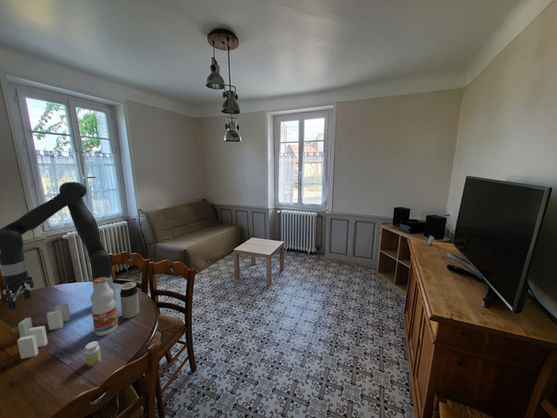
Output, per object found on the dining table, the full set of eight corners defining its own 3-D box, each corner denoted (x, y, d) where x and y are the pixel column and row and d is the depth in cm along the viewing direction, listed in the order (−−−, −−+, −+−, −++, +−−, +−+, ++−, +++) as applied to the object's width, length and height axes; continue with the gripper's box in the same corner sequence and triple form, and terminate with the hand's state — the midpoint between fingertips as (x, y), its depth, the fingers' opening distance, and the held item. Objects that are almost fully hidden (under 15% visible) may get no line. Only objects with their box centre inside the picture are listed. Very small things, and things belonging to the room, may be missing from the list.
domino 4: (51, 327, 111) (49, 312, 110) (63, 325, 113) (60, 310, 111) (49, 330, 109) (46, 314, 108) (61, 328, 111) (58, 312, 109)
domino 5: (59, 320, 117) (56, 305, 115) (70, 318, 118) (67, 303, 117) (57, 322, 115) (54, 307, 113) (68, 320, 116) (65, 305, 115)
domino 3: (34, 345, 100) (31, 327, 98) (47, 342, 101) (44, 325, 100) (31, 348, 98) (28, 330, 97) (45, 345, 100) (41, 328, 98)
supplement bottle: (92, 357, 94) (90, 340, 93) (104, 356, 94) (101, 340, 93) (83, 367, 89) (81, 349, 88) (95, 366, 90) (93, 348, 88)
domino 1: (33, 333, 107) (30, 317, 105) (26, 340, 102) (22, 323, 101) (29, 334, 106) (25, 317, 105) (21, 341, 102) (17, 324, 100)
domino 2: (24, 355, 94) (20, 337, 93) (38, 352, 96) (35, 335, 94) (21, 358, 93) (17, 340, 91) (35, 356, 94) (32, 337, 93)
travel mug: (126, 321, 117) (123, 290, 114) (120, 315, 121) (116, 286, 118) (142, 313, 124) (139, 284, 121) (135, 308, 128) (132, 280, 125)
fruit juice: (120, 321, 117) (114, 273, 112) (115, 333, 108) (109, 281, 104) (98, 326, 113) (91, 276, 108) (92, 338, 104) (84, 285, 100)
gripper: (12, 277, 93) (19, 311, 96) (36, 264, 107) (42, 294, 109) (-12, 279, 91) (-4, 314, 94) (16, 266, 104) (22, 296, 107)
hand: (20, 303), depth 101 cm, fingers open, 8 cm apart
